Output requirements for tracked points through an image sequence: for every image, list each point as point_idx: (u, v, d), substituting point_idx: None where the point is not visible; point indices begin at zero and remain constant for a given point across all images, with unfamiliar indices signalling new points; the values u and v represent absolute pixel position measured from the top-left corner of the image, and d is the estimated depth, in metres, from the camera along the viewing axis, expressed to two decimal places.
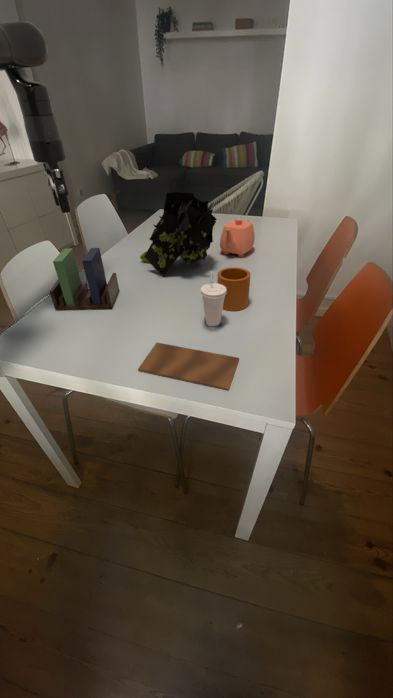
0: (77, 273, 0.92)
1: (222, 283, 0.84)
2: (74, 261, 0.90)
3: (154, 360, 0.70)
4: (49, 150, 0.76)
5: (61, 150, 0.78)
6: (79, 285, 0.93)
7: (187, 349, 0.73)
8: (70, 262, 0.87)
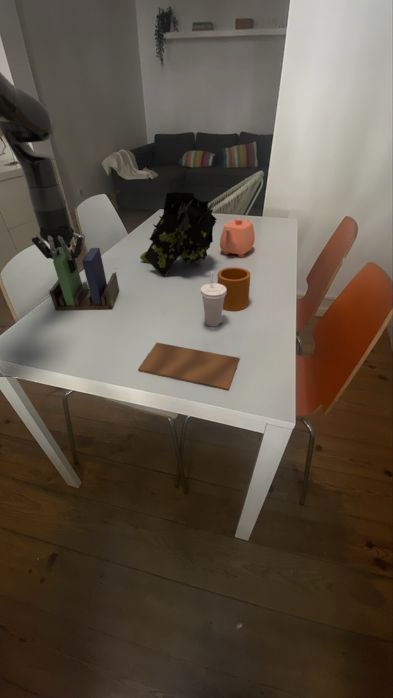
0: (77, 273, 0.92)
1: (222, 283, 0.84)
2: None
3: (154, 360, 0.70)
4: (66, 214, 0.79)
5: None
6: (79, 285, 0.93)
7: (187, 349, 0.73)
8: None
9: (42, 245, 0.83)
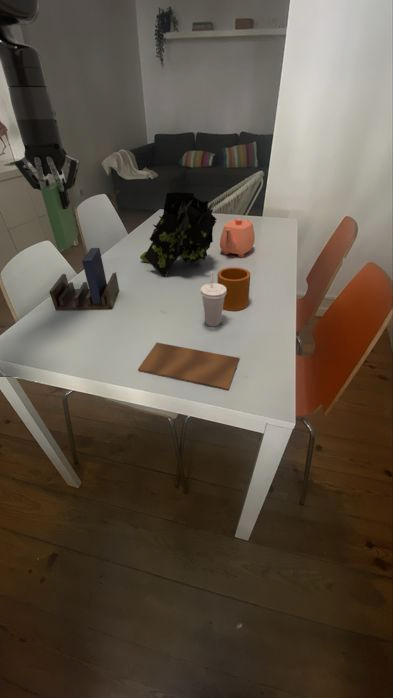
0: (70, 213, 0.78)
1: (222, 283, 0.84)
2: None
3: (154, 360, 0.70)
4: (57, 129, 0.65)
5: None
6: (73, 228, 0.79)
7: (187, 349, 0.73)
8: None
9: (28, 171, 0.69)
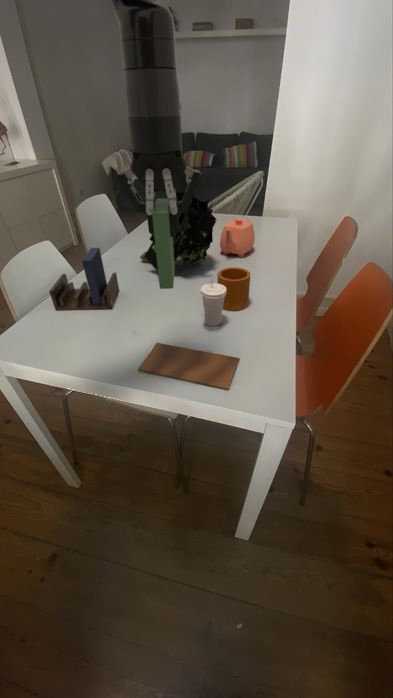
0: (172, 240, 0.59)
1: (222, 283, 0.84)
2: None
3: (154, 360, 0.70)
4: None
5: None
6: (173, 259, 0.61)
7: (187, 349, 0.73)
8: None
9: (132, 188, 0.50)
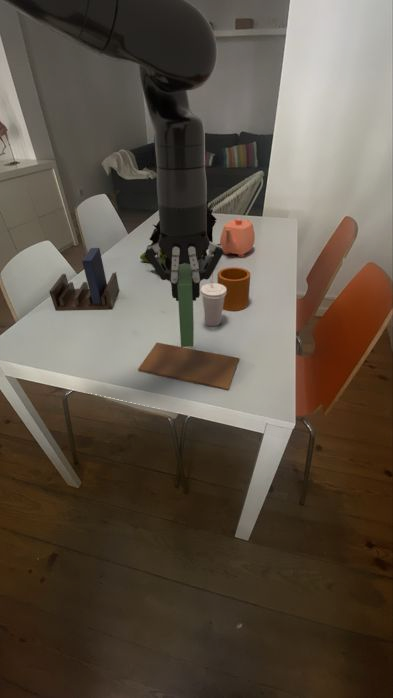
0: None
1: (222, 283, 0.84)
2: None
3: (154, 360, 0.70)
4: (206, 214, 0.50)
5: None
6: None
7: (187, 349, 0.73)
8: None
9: (158, 260, 0.54)
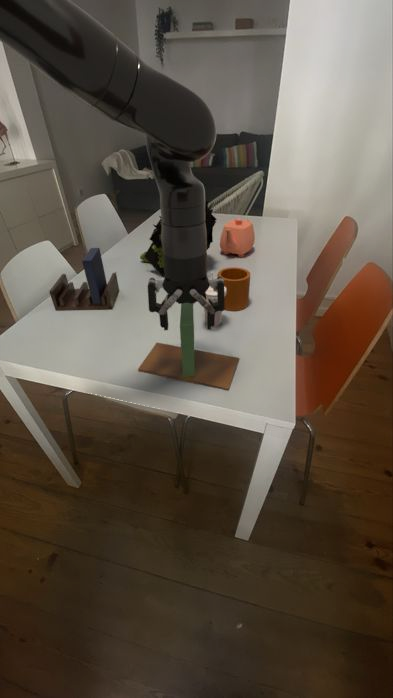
0: None
1: None
2: (193, 317, 0.66)
3: (154, 360, 0.70)
4: (206, 260, 0.55)
5: None
6: None
7: None
8: None
9: (155, 295, 0.58)
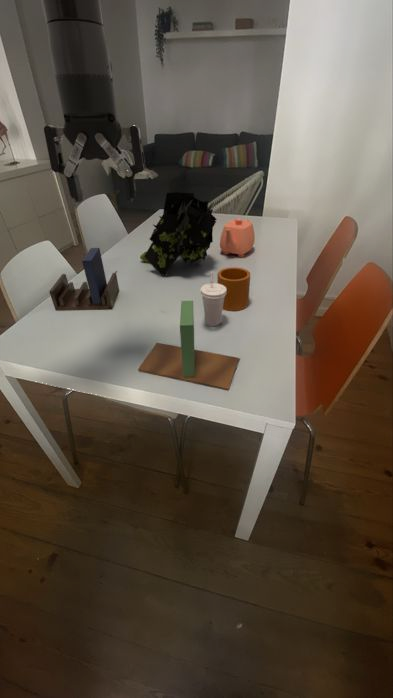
0: None
1: (222, 283, 0.84)
2: (193, 317, 0.66)
3: (154, 360, 0.70)
4: (113, 93, 0.44)
5: None
6: None
7: None
8: None
9: (56, 146, 0.48)
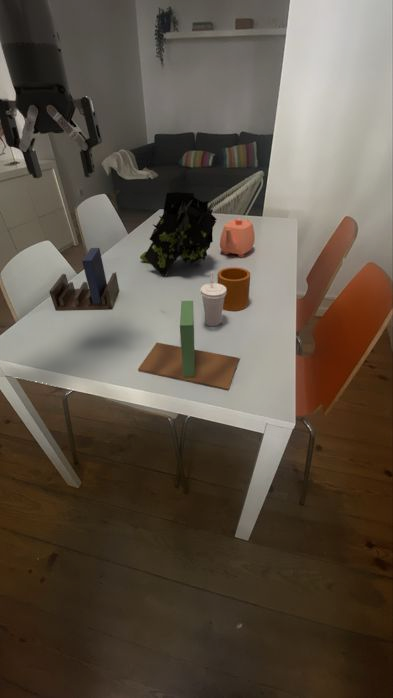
0: None
1: (222, 283, 0.84)
2: (193, 317, 0.66)
3: (154, 360, 0.70)
4: (62, 64, 0.44)
5: None
6: None
7: None
8: None
9: (10, 120, 0.48)
